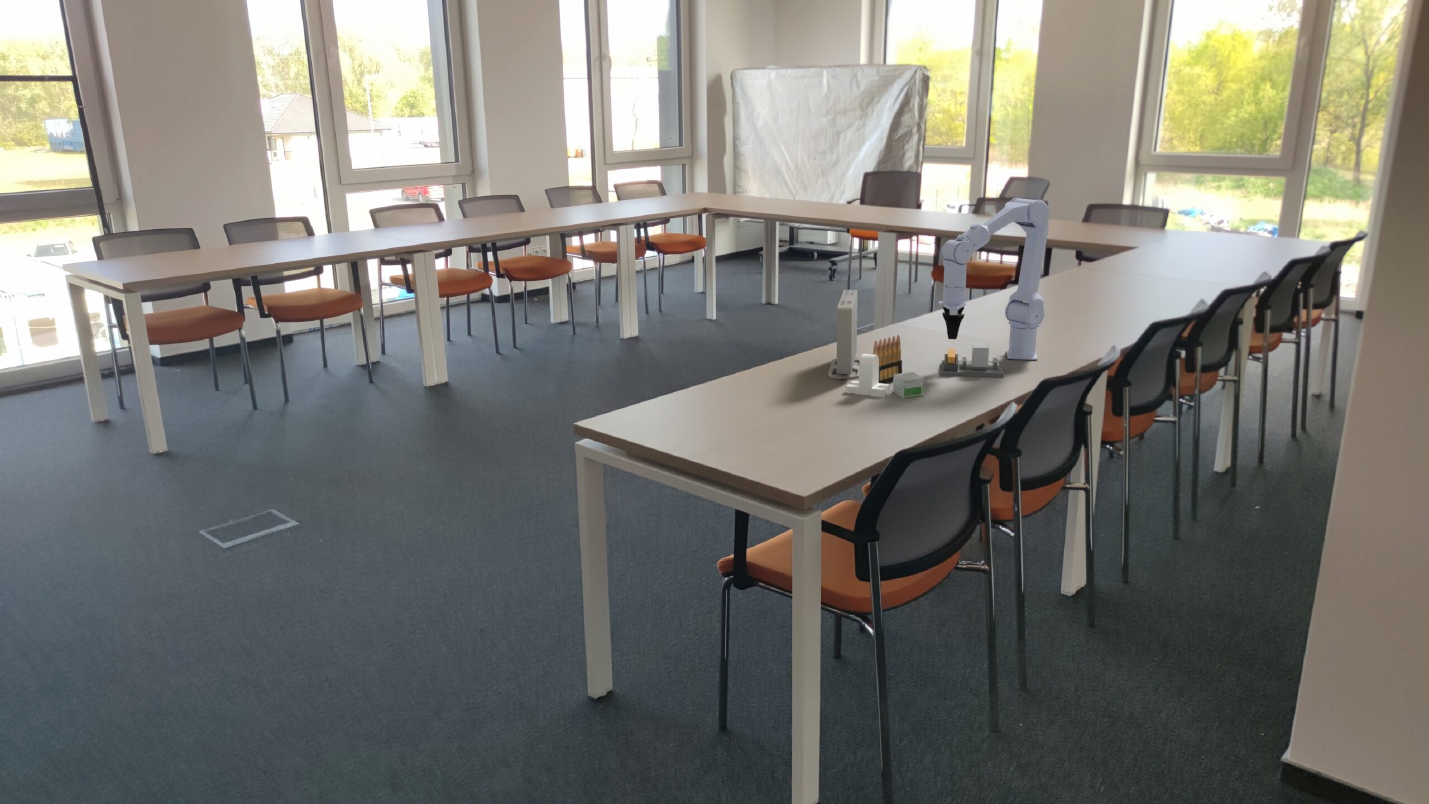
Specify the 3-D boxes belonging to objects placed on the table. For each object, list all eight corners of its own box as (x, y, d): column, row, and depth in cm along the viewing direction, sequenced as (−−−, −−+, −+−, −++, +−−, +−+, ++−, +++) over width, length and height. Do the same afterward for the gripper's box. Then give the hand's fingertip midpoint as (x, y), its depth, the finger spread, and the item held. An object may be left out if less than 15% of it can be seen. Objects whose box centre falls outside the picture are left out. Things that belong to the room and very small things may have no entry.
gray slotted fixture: (944, 360, 266) (944, 353, 266) (997, 362, 263) (998, 355, 262) (943, 370, 257) (944, 363, 256) (999, 372, 254) (999, 365, 253)
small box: (902, 398, 238) (903, 379, 237) (892, 392, 244) (892, 373, 242) (923, 396, 240) (924, 377, 238) (912, 389, 245) (913, 371, 244)
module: (971, 362, 263) (972, 341, 261) (986, 363, 262) (988, 341, 260) (972, 369, 256) (973, 347, 255) (987, 370, 255) (988, 348, 254)
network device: (859, 382, 252) (860, 308, 246) (826, 381, 254) (826, 307, 248) (864, 357, 276) (865, 288, 270) (834, 356, 278) (834, 288, 272)
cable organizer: (883, 397, 239) (884, 358, 236) (845, 393, 244) (846, 355, 241) (889, 391, 244) (890, 353, 241) (852, 387, 248) (853, 350, 245)
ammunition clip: (875, 386, 248) (876, 341, 245) (869, 385, 250) (870, 340, 246) (902, 378, 255) (903, 334, 251) (896, 377, 256) (898, 333, 253)
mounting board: (941, 363, 268) (941, 359, 267) (1001, 365, 264) (1001, 361, 264) (941, 375, 256) (941, 371, 256) (1003, 377, 253) (1003, 373, 252)
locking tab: (947, 356, 265) (947, 349, 264) (954, 356, 264) (955, 349, 264) (947, 364, 257) (947, 356, 256) (955, 364, 257) (955, 357, 256)
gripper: (939, 280, 262) (937, 329, 266) (938, 290, 249) (936, 341, 253) (966, 281, 261) (963, 329, 265) (966, 291, 247) (964, 342, 251)
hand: (952, 335), depth 259 cm, fingers open, 7 cm apart
